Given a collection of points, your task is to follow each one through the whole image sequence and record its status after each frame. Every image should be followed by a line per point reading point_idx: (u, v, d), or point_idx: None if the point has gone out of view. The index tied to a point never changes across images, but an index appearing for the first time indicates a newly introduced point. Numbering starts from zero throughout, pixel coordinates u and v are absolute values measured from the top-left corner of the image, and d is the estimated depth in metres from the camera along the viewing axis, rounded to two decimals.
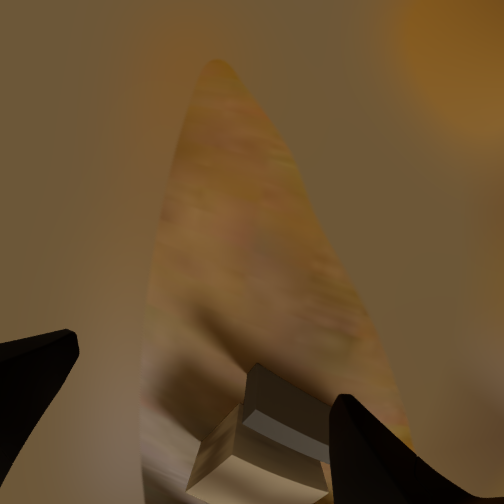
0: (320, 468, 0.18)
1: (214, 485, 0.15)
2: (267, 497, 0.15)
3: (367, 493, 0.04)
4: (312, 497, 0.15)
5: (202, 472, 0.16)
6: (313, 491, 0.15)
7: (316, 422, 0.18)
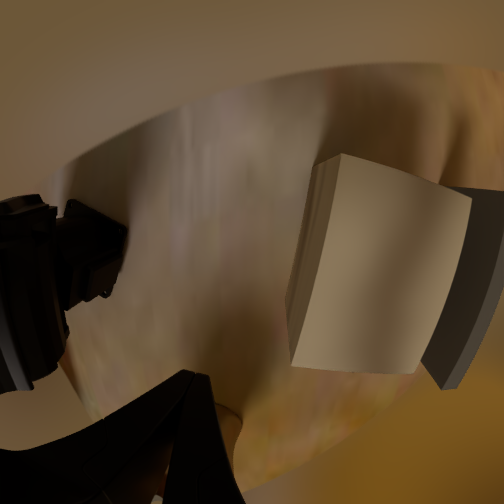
0: None
1: (399, 199, 0.10)
2: (398, 299, 0.11)
3: None
4: (402, 361, 0.12)
5: None
6: (417, 353, 0.11)
7: None
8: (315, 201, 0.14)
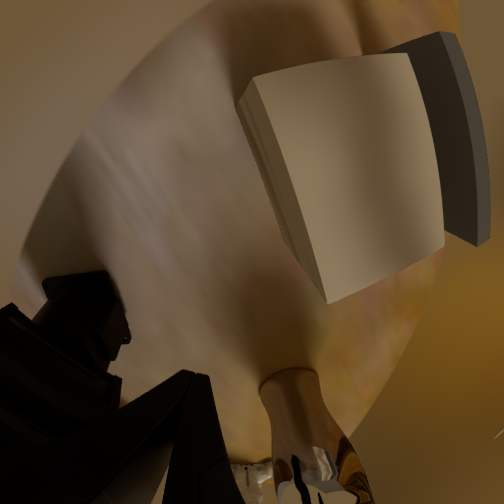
0: None
1: (337, 89, 0.08)
2: (392, 184, 0.10)
3: None
4: (428, 241, 0.11)
5: None
6: (438, 224, 0.11)
7: None
8: (256, 137, 0.12)
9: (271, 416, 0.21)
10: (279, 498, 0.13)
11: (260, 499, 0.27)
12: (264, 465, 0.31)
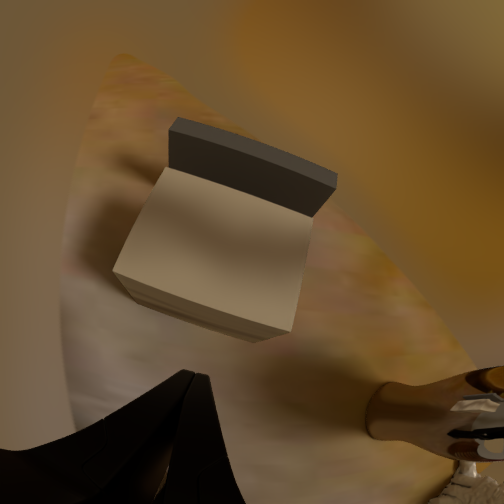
0: None
1: (154, 230, 0.14)
2: (235, 235, 0.15)
3: None
4: (298, 230, 0.16)
5: None
6: (291, 216, 0.16)
7: None
8: (158, 303, 0.16)
9: (398, 437, 0.16)
10: (470, 459, 0.08)
11: (490, 479, 0.12)
12: (460, 465, 0.18)
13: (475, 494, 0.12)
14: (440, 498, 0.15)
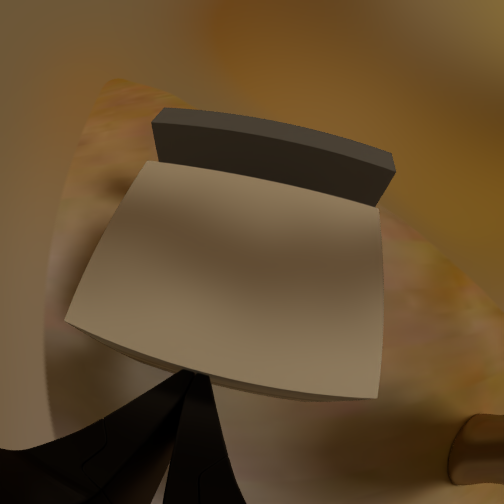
0: None
1: (126, 251, 0.08)
2: (263, 246, 0.09)
3: None
4: (362, 227, 0.09)
5: None
6: (347, 207, 0.10)
7: None
8: (156, 364, 0.10)
9: (489, 481, 0.06)
10: None
11: None
12: None
13: None
14: None
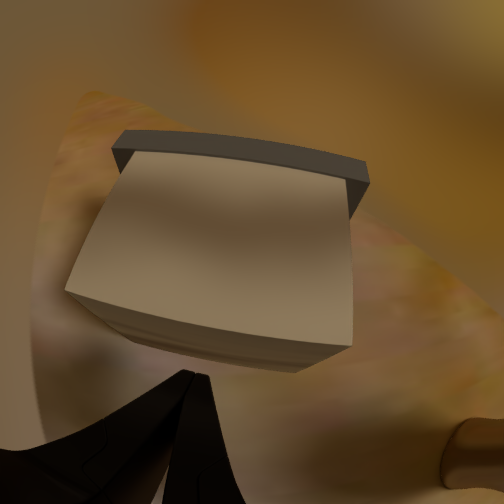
0: None
1: (118, 226, 0.09)
2: (238, 214, 0.10)
3: None
4: (329, 195, 0.10)
5: None
6: (315, 179, 0.11)
7: None
8: (149, 336, 0.11)
9: (482, 487, 0.06)
10: None
11: None
12: None
13: None
14: None
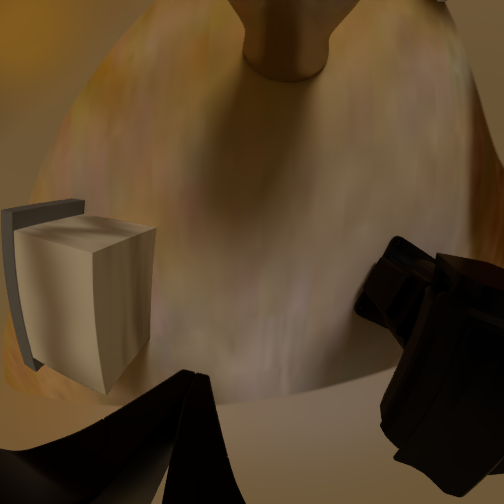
0: None
1: (69, 366, 0.14)
2: (45, 305, 0.13)
3: None
4: (24, 246, 0.12)
5: None
6: (18, 253, 0.12)
7: None
8: (130, 338, 0.17)
9: (320, 47, 0.12)
10: None
11: None
12: None
13: None
14: None
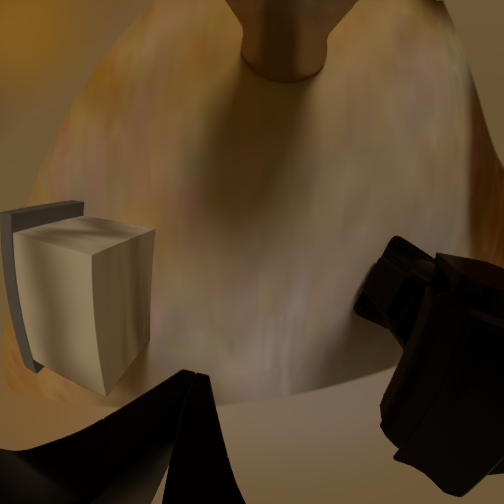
0: None
1: (69, 368, 0.14)
2: (44, 307, 0.13)
3: None
4: (23, 248, 0.12)
5: None
6: (17, 255, 0.12)
7: None
8: (129, 340, 0.17)
9: (319, 47, 0.12)
10: None
11: None
12: None
13: None
14: None
